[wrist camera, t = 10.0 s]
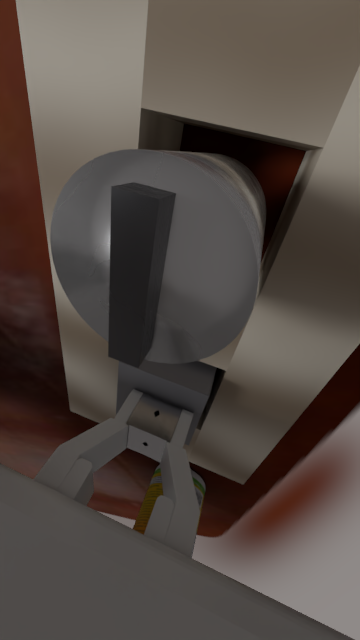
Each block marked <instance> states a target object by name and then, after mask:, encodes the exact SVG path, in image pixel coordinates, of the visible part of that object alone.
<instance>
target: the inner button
mask: <svg viewBox="0 0 360 640" xmlns="http://www.w3.org/2000/svg"><path fill="white" fill-rule="evenodd" d="M216 369H217V367H214V366H211V365H209V364H206V363H203V362H200V361H194V362H190V363H181V364H167V363H158V362H153V361H148V360H145V359H144V360H143V362H142V363H141V365H140V366H139V368H136V367H134V366H131V365H128V364H126V363H123V362H121V361H119V366H118V384H117V403H116V415H117V413H118V412H119V410H120V408H121V407H122V405H123V404H124V402H125V400H126V399H127V397H128V396H129V394H130V392H131V391H132V390H133V389H135V390H137V391H140V392H142V393H144V394H147V395H149V396H151V397H154V398H156V399H159V400H161V401H164V402H167V403H169V404H172V405H174V406H177V407H180V408H182V409H184V410H186V411H189V412H192V413H193V418H192V421H191V424H190V427H189V430H188V433H187V436H186V440H185V443H184V444H186V445H188V446H189V444H190V441H191V439H192V437H193V434H194V432H195V429H196V427H197V424H198V422H199V420H200V417H201V415H202V412H203V410H204V407H205V405H206V402H207V400H208V398H209V395H210V391H211V387H212V384H213V380H214V376H215V372H216Z"/></svg>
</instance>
